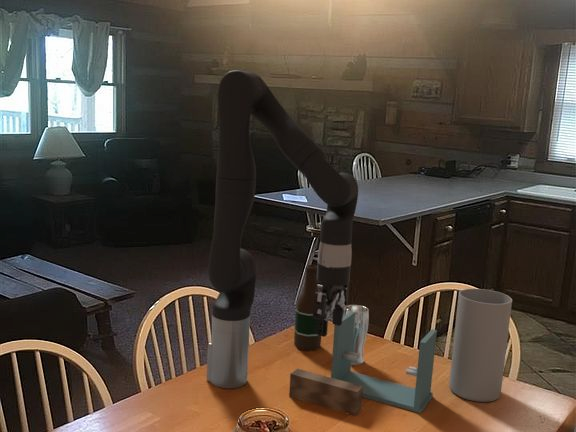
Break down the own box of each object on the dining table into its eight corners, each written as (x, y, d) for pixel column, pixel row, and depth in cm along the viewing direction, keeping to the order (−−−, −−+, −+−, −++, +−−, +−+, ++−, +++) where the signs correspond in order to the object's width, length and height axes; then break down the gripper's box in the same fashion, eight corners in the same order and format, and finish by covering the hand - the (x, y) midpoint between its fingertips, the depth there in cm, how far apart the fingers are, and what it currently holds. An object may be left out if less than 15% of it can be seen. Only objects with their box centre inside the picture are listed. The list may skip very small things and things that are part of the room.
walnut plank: (289, 397, 149) (290, 373, 148) (296, 391, 152) (297, 368, 151) (355, 416, 141) (357, 392, 140) (361, 410, 144) (363, 386, 143)
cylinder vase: (485, 408, 148) (497, 307, 144) (439, 390, 157) (449, 294, 152) (509, 393, 157) (520, 297, 153) (463, 376, 166) (473, 285, 161)
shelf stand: (327, 387, 155) (332, 321, 152) (343, 373, 164) (348, 311, 161) (420, 413, 144) (427, 343, 141) (432, 396, 153) (439, 330, 150)
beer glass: (338, 363, 170) (341, 310, 167) (342, 354, 176) (345, 303, 174) (363, 367, 168) (367, 314, 165) (366, 357, 175) (370, 306, 172)
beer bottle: (308, 339, 186) (313, 261, 182) (326, 347, 180) (331, 267, 176) (288, 344, 181) (292, 264, 177) (305, 353, 175) (311, 270, 171)
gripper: (332, 253, 149) (327, 318, 151) (305, 265, 136) (301, 335, 139) (361, 258, 145) (356, 324, 148) (336, 271, 133) (331, 343, 136)
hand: (329, 330), depth 144 cm, fingers open, 8 cm apart
